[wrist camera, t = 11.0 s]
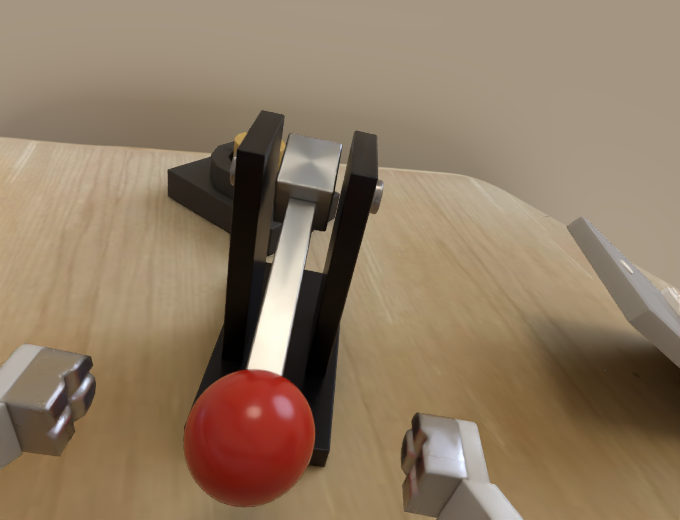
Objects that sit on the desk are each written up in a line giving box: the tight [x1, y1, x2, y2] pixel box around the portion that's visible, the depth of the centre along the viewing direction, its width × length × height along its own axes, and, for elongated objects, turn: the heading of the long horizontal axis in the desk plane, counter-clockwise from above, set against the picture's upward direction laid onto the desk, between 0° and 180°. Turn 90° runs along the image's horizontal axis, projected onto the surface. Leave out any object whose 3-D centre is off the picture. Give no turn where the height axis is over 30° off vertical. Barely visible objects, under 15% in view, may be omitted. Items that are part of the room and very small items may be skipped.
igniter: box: [168, 142, 340, 256], centre depth 35 cm, size 10×8×4 cm
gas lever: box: [183, 133, 342, 507], centre depth 16 cm, size 13×4×4 cm, turn 177°
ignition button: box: [233, 132, 286, 172], centre depth 33 cm, size 4×4×2 cm
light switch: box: [567, 217, 680, 371], centre depth 27 cm, size 8×6×14 cm
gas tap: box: [184, 110, 383, 467], centre depth 21 cm, size 12×6×12 cm, turn 177°
